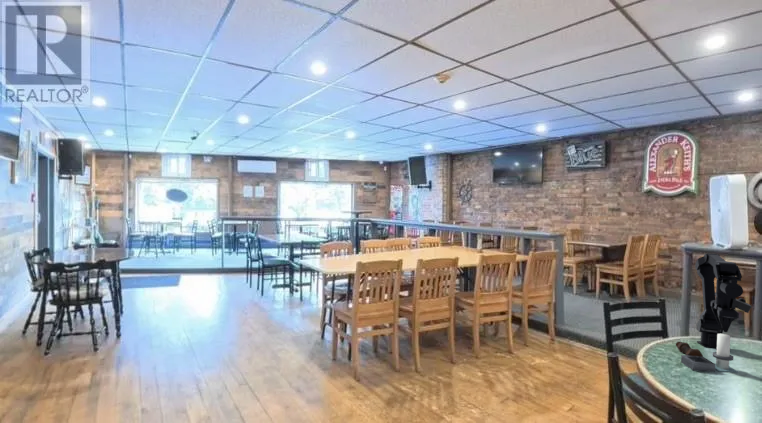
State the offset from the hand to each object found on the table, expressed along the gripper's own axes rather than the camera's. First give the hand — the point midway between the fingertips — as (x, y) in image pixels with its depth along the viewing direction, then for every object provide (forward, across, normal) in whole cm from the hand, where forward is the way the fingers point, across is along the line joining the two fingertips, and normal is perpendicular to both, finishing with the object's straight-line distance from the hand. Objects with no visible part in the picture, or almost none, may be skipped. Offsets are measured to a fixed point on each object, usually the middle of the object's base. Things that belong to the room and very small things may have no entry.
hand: (723, 328), depth 175 cm
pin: (+13, -11, +2) cm, 17 cm away
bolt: (+13, -2, +12) cm, 18 cm away
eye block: (+13, -15, +10) cm, 22 cm away
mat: (+13, -12, +2) cm, 17 cm away
